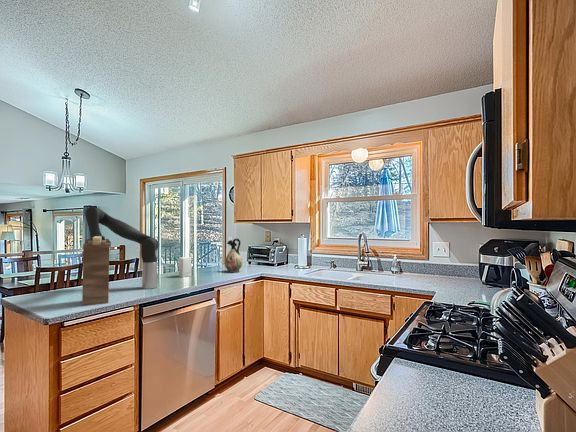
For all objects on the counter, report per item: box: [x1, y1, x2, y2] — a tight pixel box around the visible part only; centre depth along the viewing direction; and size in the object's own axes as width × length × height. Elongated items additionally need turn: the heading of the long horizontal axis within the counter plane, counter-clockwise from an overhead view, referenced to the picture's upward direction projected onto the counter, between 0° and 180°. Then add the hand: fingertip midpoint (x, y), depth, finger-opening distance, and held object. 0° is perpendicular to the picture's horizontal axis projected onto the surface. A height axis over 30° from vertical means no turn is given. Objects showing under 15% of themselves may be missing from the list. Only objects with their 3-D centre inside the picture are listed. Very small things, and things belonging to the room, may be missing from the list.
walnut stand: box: [81, 240, 110, 306], centre depth 179 cm, size 12×12×34 cm
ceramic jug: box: [224, 238, 243, 273], centre depth 289 cm, size 17×15×30 cm
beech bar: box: [92, 235, 103, 245], centre depth 182 cm, size 26×4×4 cm, turn 29°
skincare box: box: [178, 256, 192, 278], centre depth 263 cm, size 8×7×16 cm
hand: (97, 237), depth 187 cm, fingers open, 4 cm apart
